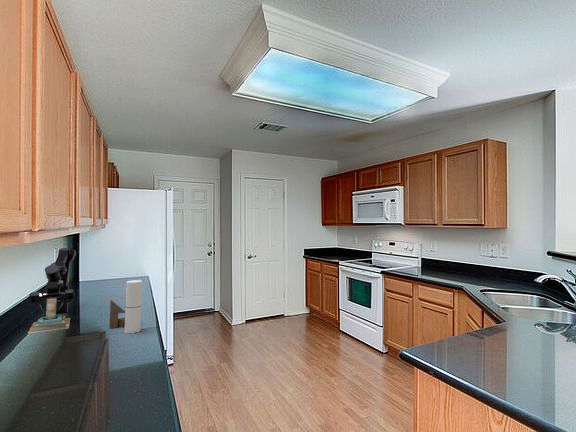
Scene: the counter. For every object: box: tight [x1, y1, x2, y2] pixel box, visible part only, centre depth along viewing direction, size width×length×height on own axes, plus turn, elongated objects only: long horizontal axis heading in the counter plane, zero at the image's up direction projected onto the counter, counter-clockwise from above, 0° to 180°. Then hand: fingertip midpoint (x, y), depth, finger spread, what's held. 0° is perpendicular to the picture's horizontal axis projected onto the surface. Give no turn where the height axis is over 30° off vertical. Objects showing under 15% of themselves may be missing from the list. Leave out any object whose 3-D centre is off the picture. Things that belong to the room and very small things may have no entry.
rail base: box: [27, 315, 71, 335], centre depth 160 cm, size 20×16×3 cm
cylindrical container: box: [124, 279, 143, 334], centre depth 156 cm, size 7×7×25 cm
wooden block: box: [108, 299, 126, 329], centre depth 164 cm, size 4×11×18 cm, turn 126°
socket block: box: [38, 314, 63, 325], centre depth 159 cm, size 9×9×4 cm
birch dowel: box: [45, 298, 57, 320], centre depth 159 cm, size 4×4×13 cm
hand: (50, 309), depth 158 cm, fingers open, 6 cm apart
